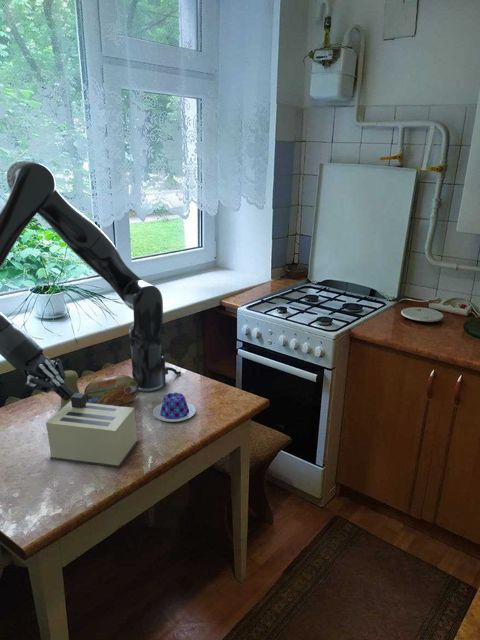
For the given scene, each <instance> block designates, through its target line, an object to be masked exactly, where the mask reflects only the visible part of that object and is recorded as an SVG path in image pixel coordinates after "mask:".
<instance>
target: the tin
mask: <svg viewBox="0 0 480 640" xmlns="http://www.w3.org/2000/svg"><path fill="white" fill-rule="evenodd" d="M83 394H85V396H86V403H94V404H103V405H112V406H122V405H127V404H130V403H131V402H133V401H134V400H135V399H136V398H137V396H138V394H139V391H138V385H137V383H136V381H135V380H134V379H133V377H131V376H130V375H128V374H127V375H126V374H120V375H115V376H110V377H104V378H98V379H94V380H92V381H90V382H89V383H88V384H87V385H86V387H85V389H84V393H83Z"/></svg>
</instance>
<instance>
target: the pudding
mask: <svg viewBox="0 0 480 640" xmlns="http://www.w3.org/2000/svg"><path fill="white" fill-rule="evenodd" d="M196 412H197V409H196V406H195V405H194V404H192V403H190V402H188V401H187V400H186V397H185V396H184V394H183V393H180V392H169V393H167V394H165V395H164V397H163V398H162V403H160V404H158V405H157V406H155V407H154V408H153V410H152V414H153V416H154V417H155V418H156V419H158V420H160V421H164V422H181V421H185V420H188V419H190V418H192V417H194V415H195V414H196Z"/></svg>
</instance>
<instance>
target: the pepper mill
mask: <svg viewBox="0 0 480 640" xmlns="http://www.w3.org/2000/svg"><path fill="white" fill-rule="evenodd" d="M64 372H65V375H66V378H65V379H64V384H65V385H66V386H67V387H68V388H70V389H71V390H72V392H73V393H74V394H75V393H81V392H80V389H79V386H78V381H79V375H78V374H79V373H77V372H76V371H75V370H71V369H69V370H64ZM70 401H71V398H70V399H69V400H68V401H65V400H64V399H62V398H61V397H60V410H61V409H62V408H63V407H64V406H65V405H66V404H67V403H69V402H70Z"/></svg>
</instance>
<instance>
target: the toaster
mask: <svg viewBox="0 0 480 640" xmlns="http://www.w3.org/2000/svg"><path fill="white" fill-rule="evenodd" d="M135 411H136V410H135V407H129V406H122V405H117V406H112V405H103V404H94V403H86V405H85V406H84V407H83V408H75V407H72V404H71V401H70V402H69V403H67V404H66V405H65V406H64V407H63V408H62V409H61V408H60V410H59V411H57V412H56V413H55V414H54V415H53V416H52V417H51V418H49V420H47V421H46V423H45V425H46V431H47V438H48V445H49V451H50V456H49V458H50V459H49V460H54V461H61V462H68V463H77V464H83V465H93V466H99V467H109V468H116V469H120V468H121V466H122V465H123V464H124V462H125V461H126V460H127V458H128V456H129V455H130V454H131V453H132V451H133V450H134V448H135V447H136V446H137V444H138V443H139V440H138V439H137V425H136V412H135Z"/></svg>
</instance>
